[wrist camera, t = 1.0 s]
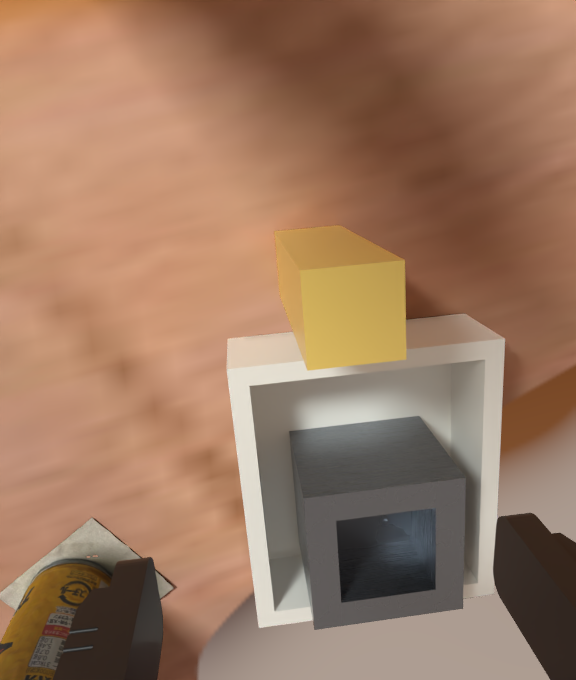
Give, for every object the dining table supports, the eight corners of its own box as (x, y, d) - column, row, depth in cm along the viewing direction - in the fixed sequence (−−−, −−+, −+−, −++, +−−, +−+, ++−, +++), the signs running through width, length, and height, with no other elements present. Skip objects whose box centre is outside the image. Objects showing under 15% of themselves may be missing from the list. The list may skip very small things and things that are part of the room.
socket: (289, 431, 33) (303, 498, 26) (419, 415, 33) (466, 477, 26) (299, 542, 35) (314, 629, 28) (420, 526, 36) (463, 608, 29)
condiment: (-3, 594, 35) (-117, 800, 23) (92, 516, 34) (21, 692, 22) (82, 656, 37) (15, 873, 26) (174, 584, 36) (147, 777, 25)
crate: (227, 338, 31) (226, 369, 26) (464, 313, 32) (505, 338, 27) (255, 567, 36) (258, 628, 31) (460, 539, 37) (493, 594, 32)
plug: (274, 231, 30) (299, 270, 18) (339, 225, 30) (405, 260, 18) (279, 295, 31) (307, 370, 19) (342, 289, 31) (406, 359, 20)
